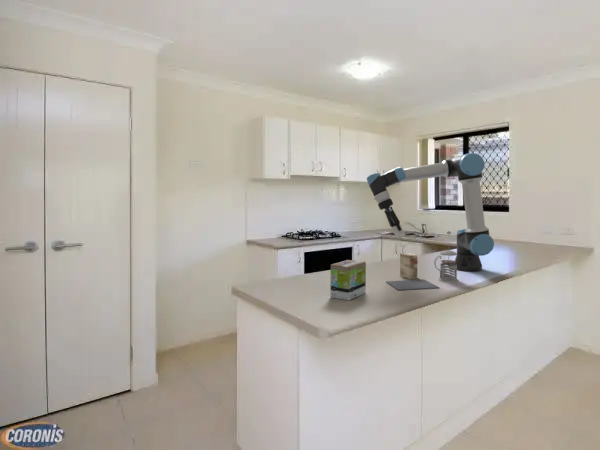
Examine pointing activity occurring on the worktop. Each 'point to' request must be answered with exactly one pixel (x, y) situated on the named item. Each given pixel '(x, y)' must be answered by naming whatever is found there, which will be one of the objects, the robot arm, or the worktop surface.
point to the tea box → (348, 279)
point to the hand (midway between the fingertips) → (400, 237)
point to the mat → (412, 284)
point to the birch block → (408, 265)
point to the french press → (450, 265)
